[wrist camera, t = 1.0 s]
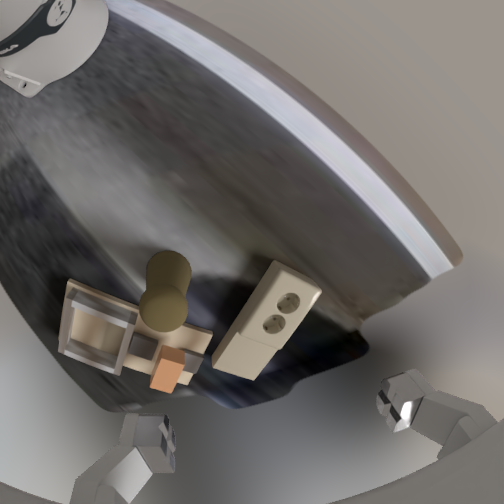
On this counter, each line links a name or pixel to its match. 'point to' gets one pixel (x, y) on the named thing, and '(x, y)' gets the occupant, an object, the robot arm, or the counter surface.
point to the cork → (165, 292)
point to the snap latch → (167, 369)
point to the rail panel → (121, 334)
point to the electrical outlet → (266, 321)
